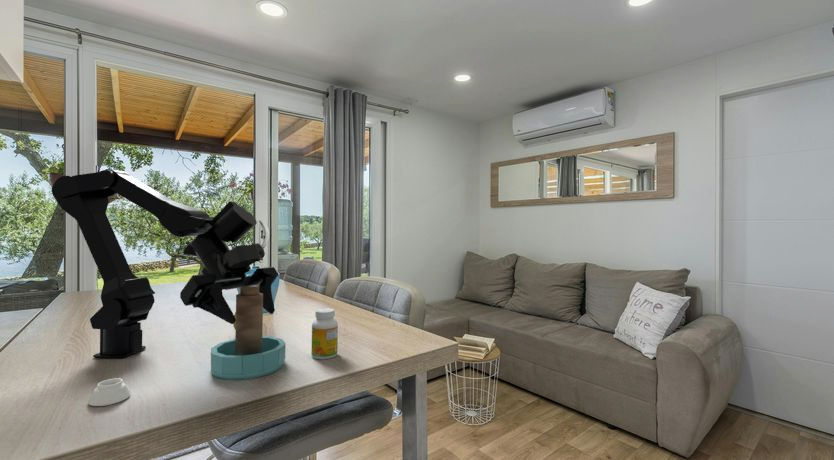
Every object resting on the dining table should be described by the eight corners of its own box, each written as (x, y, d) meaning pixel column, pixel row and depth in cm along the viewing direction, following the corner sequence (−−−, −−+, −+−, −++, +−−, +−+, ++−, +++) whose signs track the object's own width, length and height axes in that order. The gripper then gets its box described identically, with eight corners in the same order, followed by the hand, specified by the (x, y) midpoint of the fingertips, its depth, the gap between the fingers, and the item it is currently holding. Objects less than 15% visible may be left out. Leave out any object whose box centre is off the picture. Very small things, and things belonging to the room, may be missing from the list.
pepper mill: (230, 365, 71) (231, 288, 71) (242, 356, 76) (243, 284, 76) (255, 365, 71) (256, 289, 71) (265, 357, 76) (267, 285, 76)
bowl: (195, 379, 67) (196, 356, 67) (232, 354, 80) (232, 335, 80) (268, 380, 67) (268, 358, 67) (293, 355, 80) (293, 336, 80)
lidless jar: (116, 407, 57) (137, 393, 61) (117, 388, 57) (137, 375, 61) (80, 409, 56) (103, 394, 61) (80, 389, 56) (103, 376, 61)
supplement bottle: (306, 355, 80) (307, 310, 80) (328, 349, 84) (328, 306, 84) (320, 362, 76) (321, 314, 76) (342, 355, 80) (343, 310, 80)
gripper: (191, 230, 67) (233, 298, 62) (272, 230, 83) (311, 284, 79) (163, 271, 70) (201, 339, 65) (247, 263, 87) (282, 317, 82)
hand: (254, 317), depth 73 cm, fingers open, 9 cm apart
